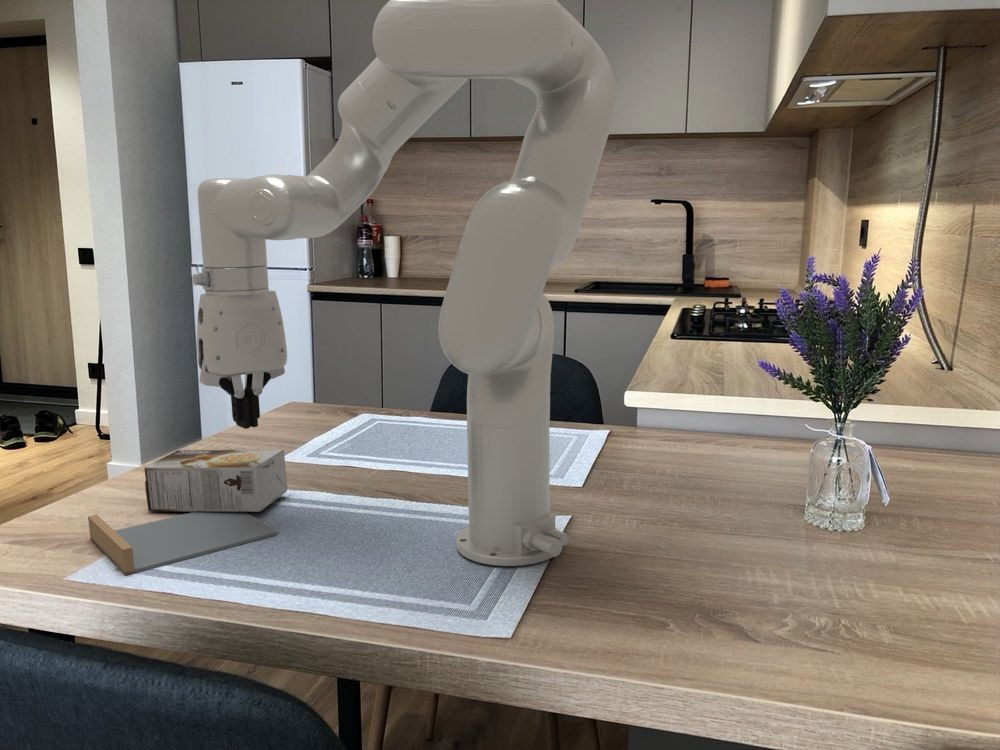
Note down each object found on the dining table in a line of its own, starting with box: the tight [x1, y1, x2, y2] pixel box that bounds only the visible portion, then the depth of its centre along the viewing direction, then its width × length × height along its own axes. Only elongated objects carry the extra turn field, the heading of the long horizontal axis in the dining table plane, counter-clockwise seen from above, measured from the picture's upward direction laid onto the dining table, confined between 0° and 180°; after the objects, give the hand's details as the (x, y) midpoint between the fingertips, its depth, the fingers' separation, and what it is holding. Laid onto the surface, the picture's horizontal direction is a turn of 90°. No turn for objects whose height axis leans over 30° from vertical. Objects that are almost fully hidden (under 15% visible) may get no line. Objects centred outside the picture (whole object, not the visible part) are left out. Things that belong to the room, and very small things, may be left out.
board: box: [87, 511, 278, 576], centre depth 103 cm, size 14×18×3 cm
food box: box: [144, 449, 288, 513], centre depth 115 cm, size 9×6×16 cm
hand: (246, 425), depth 107 cm, fingers closed
